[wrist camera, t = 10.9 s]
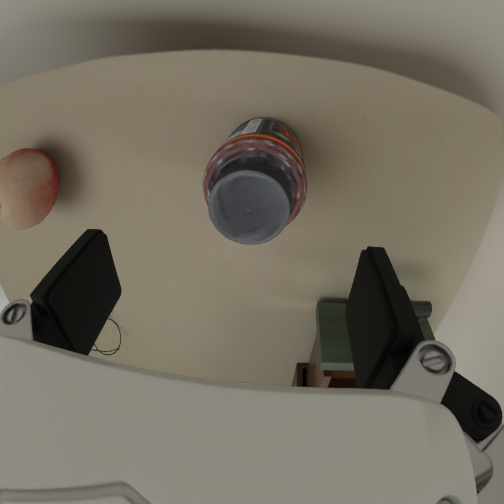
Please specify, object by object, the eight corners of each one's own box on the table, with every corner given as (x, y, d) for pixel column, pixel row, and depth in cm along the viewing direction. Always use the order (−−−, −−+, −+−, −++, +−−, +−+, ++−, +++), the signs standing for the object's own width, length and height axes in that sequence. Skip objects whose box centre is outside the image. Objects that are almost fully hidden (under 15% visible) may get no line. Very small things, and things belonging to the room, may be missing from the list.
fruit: (23, 132, 24) (-30, 159, 17) (75, 146, 25) (21, 178, 18) (23, 195, 28) (-21, 229, 22) (71, 214, 29) (28, 255, 23)
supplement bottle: (315, 160, 24) (335, 228, 14) (257, 197, 26) (239, 280, 17) (272, 101, 21) (261, 125, 12) (213, 143, 24) (164, 199, 15)
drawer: (324, 264, 28) (332, 325, 22) (437, 272, 27) (465, 326, 21) (300, 373, 39) (299, 424, 32) (385, 374, 38) (393, 421, 31)
